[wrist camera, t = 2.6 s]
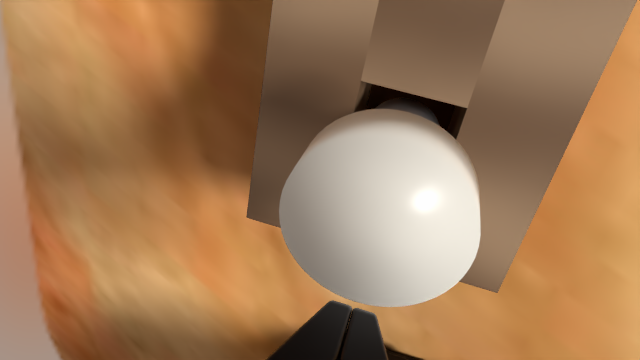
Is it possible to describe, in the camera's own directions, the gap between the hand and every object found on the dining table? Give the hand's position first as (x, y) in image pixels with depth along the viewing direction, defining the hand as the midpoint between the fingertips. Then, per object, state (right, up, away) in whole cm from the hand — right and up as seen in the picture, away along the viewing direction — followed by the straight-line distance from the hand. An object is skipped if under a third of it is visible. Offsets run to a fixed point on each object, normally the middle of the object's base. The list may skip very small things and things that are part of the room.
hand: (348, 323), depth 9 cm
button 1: (+2, +4, +7) cm, 9 cm away
